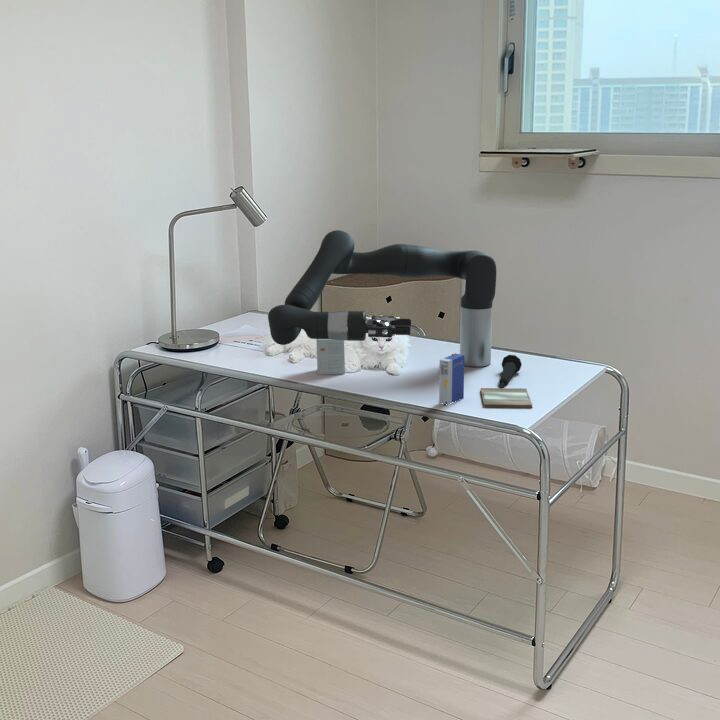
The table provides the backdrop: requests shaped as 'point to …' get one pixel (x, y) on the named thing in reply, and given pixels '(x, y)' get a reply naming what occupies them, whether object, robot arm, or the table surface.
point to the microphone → (509, 368)
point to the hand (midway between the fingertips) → (410, 326)
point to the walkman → (451, 378)
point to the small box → (330, 356)
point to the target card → (506, 398)
